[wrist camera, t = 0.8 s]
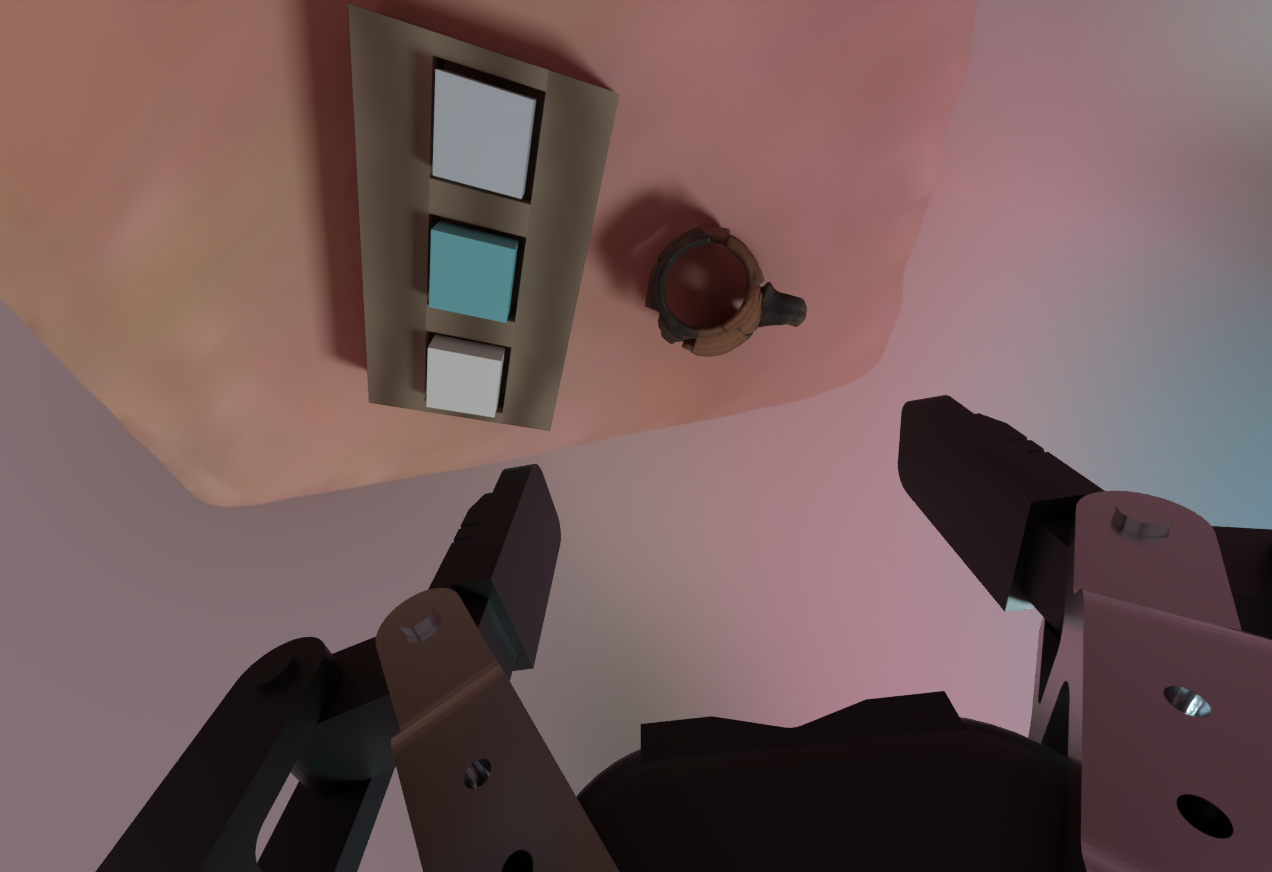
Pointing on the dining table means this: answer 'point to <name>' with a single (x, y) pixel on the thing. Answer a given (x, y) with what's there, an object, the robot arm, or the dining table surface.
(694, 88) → the dining table surface
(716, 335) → the pottery mug
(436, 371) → the cream key
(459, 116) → the grey key
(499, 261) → the teal key
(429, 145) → the console
